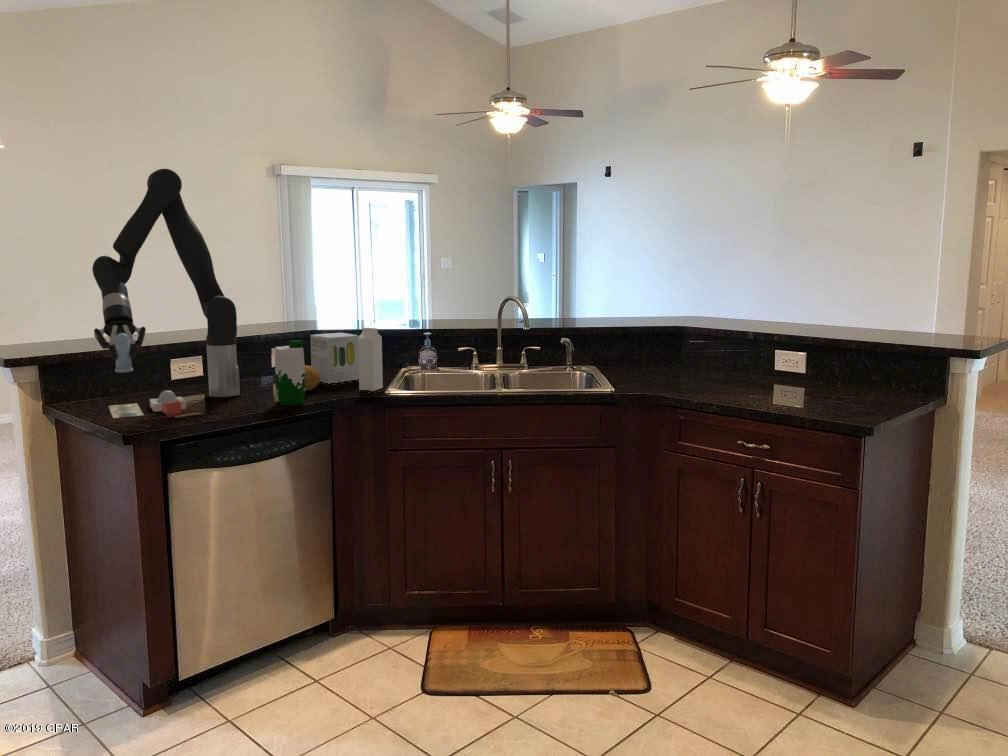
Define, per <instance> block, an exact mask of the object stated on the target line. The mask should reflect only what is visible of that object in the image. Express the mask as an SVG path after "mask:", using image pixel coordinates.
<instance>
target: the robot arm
mask: <svg viewBox="0 0 1008 756" xmlns="http://www.w3.org/2000/svg"><path fill="white" fill-rule="evenodd" d="M182 186H183V183H182V179H181V177H180V176H179V174H178V173H177V172H176V171H175V170H172V169H169V168H159V169H157V170H154V171H153V172H152V173H150V174H149V176H148V177H147V182H146V187H147V190H146V193H145V195H144V196H143V199H142V201H141V203H140V204H139V206H138V208H137V209H136V210H135V211H134V213H133V214H132V216H130V218H129V219H128V221H126V223H125V225H124V226H123V228H122V229H121V230H120V232H119V234H118V236H117V237H116V239H115V240H114V242H113V244H112V248H113V250H114V251H115V252H116V253H117V254H118V256H119V261H118V260H116V259H114V258H113V257H110V256H108V255H101V256H98V257H97V258H96V259H95V260H94V262H93V265H92V274H93V278H94V279H95V283H96V285H97V286H98V288H99V290H100V291H101V298H102V299H101V300H102V314H103V322H104V325H103V328H101V329H99V328H94V330H93V331H94V333H93V335H94V338H95V339H96V340H97V342H98V344H99V345H100V347H101V348H102V350H106V349H107V350H109V356H110V358H111V359H113V361H116V350H115V345H114V338H115V336H116V335H117V334H119V333H125V334H127V335H128V336H129V338H130V351H131V360H135V358H136V357H137V348H141V347H142V345H143V342H144V340H145V336H146V327H145V326H141V327H137V326H136V325H135V324H134V318H133V313H132V312H133V311H132V306H131V305H132V304H131V302H130V299H129V293H128V287H127V286H126V284H127V283H128V281H129V280H130V279H131V276H132V272H133V270H134V266H135V262H136V258H137V256H138V254H139V252H140V250H141V248H142V246H143V245H144V244H145V242H146V240H147V238H148V236H149V234H151V231H152V229H153V227H154V226H155V224H156V222H157V221H158V219H159V217H160V216H161V215H162V217H163V219H164V222H165V224H166V228H167V230H168V233H169V235H170V238H171V241H172V243H173V246H174V249H175V250H176V254H177V255H178V258H179V260H180V262H181V264H182V266H183V268H184V269H185V272H186V273H187V276H188V278H189V279H190V281H191V282H192V284H193V287H194V289H195V292H196V294H197V298H198V300H199V305H200V306H201V310H202V313H203V316H204V317H205V318H206V323H207V335H206V337H205V338H206V341H205V342H206V356H207V362H206V363H207V375H208V376H207V377H208V393H209V395H208V396H209V397H212V398H229V397H235V396H240V395H241V389H240V388H241V387H240V369H239V366H238V360H237V359H238V358H237V357H238V356H237V336H238V324H237V320H238V318H237V308H236V304H235V303H234V302H233V300H231V299H230V298H229V297H226V296H225V294H224V292H223V290H222V289H221V287H220V284H219V283H218V280H217V278H216V274H215V270H214V263H213V259H212V256H211V253H210V250H209V247H208V246H207V245H208V244H207V243H206V241H205V238H204V236H203V234H202V233H201V231H200V229H199V228H198V226H197V225H196V223H195V222H194V220H193V219H192V217H191V216H190V214H189V213H188V211H187V209H186V206H185V204H184V201H183V197H182V196H181V190H182V188H183V187H182ZM135 333H136V335H137V340H135V339H134V337H133V335H134V334H135ZM104 334H105V335H107V337H109V342H108V341H107V339H106V338H105V337H104Z"/></svg>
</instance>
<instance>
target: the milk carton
mask: <svg viewBox="0 0 1008 756" xmlns="http://www.w3.org/2000/svg"><path fill="white" fill-rule="evenodd" d="M288 344H289V345H283V346H275V352H274V353H275V354H274V375H275V376H274V377H275V378H274V379H275V390H276V393H277V398H278V402H279V404H281V405H283V406H296V405H297V404H299V405H305V398H306V397H305V396H306V392H305V365H306V364H305V354H304V352H305V351H304V347H303V340H302V339H291V340H289V341H288ZM281 405H280V406H281ZM297 406H298V405H297Z"/></svg>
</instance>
